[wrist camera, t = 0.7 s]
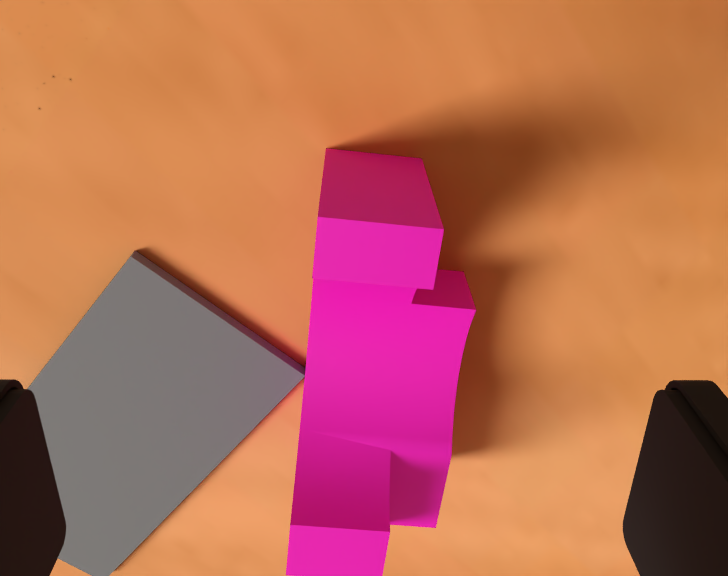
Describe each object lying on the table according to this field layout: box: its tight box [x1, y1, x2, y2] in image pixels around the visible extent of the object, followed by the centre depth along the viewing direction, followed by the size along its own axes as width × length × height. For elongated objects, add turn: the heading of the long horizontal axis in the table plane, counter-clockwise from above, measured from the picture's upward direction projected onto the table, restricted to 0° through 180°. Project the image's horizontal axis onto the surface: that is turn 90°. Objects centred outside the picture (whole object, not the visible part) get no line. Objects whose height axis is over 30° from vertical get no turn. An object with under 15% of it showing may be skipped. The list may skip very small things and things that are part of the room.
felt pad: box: [28, 251, 306, 576], centre depth 33 cm, size 17×9×1 cm, turn 139°
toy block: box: [286, 148, 476, 576], centre depth 27 cm, size 15×6×8 cm, turn 173°
